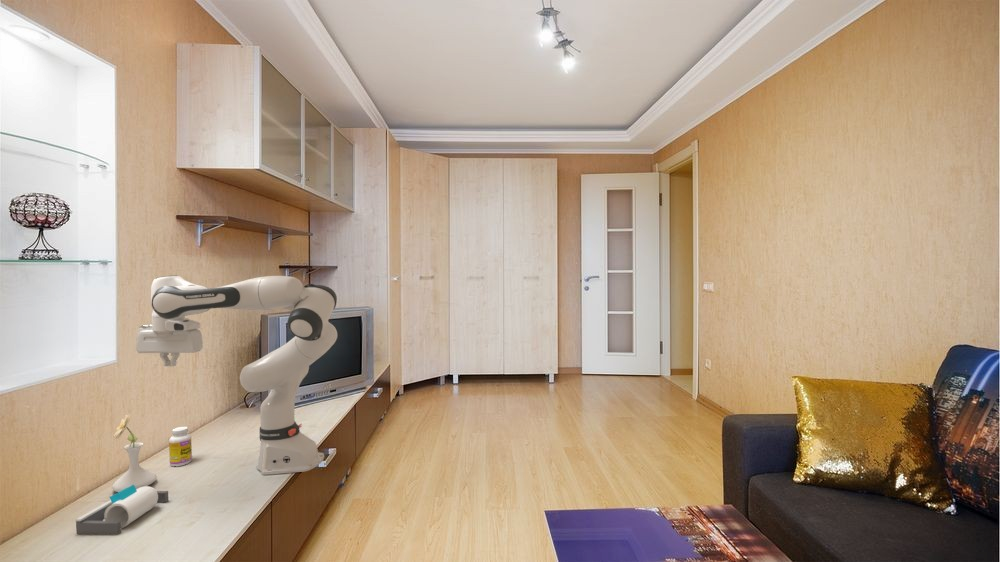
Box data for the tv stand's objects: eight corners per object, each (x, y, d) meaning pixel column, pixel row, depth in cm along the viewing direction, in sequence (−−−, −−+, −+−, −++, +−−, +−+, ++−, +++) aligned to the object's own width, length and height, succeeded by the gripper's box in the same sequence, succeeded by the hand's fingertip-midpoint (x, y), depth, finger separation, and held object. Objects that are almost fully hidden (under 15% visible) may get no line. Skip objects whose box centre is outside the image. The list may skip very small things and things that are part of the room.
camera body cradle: (168, 500, 136) (167, 487, 136) (117, 534, 119) (116, 519, 119) (132, 500, 137) (131, 487, 137) (76, 534, 120) (75, 519, 120)
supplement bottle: (180, 467, 160) (179, 432, 159) (165, 466, 161) (163, 431, 161) (196, 460, 166) (195, 426, 166) (181, 458, 167) (180, 425, 167)
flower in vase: (120, 483, 149) (116, 409, 148) (161, 476, 153) (158, 404, 152) (103, 501, 137) (100, 421, 136) (149, 493, 141) (145, 415, 140)
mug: (154, 472, 134) (120, 492, 122) (167, 500, 134) (134, 522, 122) (119, 488, 134) (81, 510, 122) (132, 515, 134) (96, 540, 122)
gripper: (129, 326, 144) (131, 368, 145) (191, 325, 144) (193, 367, 144) (145, 323, 151) (147, 364, 151) (205, 323, 150) (206, 363, 150)
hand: (170, 366), depth 148 cm, fingers closed
